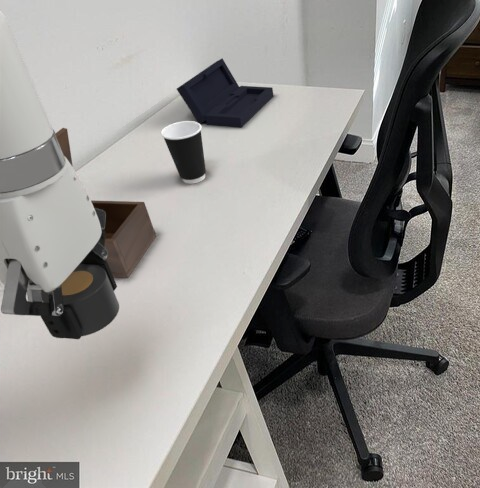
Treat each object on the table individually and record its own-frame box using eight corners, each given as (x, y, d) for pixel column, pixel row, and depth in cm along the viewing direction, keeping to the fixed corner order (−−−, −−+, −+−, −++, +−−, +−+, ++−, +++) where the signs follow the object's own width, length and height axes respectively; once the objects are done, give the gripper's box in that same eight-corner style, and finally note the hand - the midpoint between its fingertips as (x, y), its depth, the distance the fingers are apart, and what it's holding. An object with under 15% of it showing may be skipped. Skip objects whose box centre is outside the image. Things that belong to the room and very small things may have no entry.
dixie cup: (167, 182, 101) (151, 133, 94) (193, 165, 106) (181, 118, 99) (194, 191, 97) (181, 141, 90) (220, 173, 102) (209, 124, 95)
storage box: (241, 127, 120) (234, 88, 114) (185, 122, 124) (175, 84, 118) (273, 96, 135) (268, 59, 129) (222, 93, 140) (215, 57, 134)
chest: (156, 236, 86) (144, 201, 81) (127, 277, 77) (112, 242, 73) (91, 233, 88) (76, 199, 83) (56, 274, 79) (37, 239, 75)
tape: (72, 347, 49) (54, 314, 46) (47, 317, 52) (29, 285, 50) (130, 312, 52) (117, 280, 50) (102, 286, 56) (89, 255, 53)
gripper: (37, 121, 49) (96, 259, 59) (-109, 216, 35) (2, 373, 46) (105, 122, 48) (153, 262, 58) (-17, 220, 34) (74, 380, 45)
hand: (86, 310), depth 52 cm, fingers closed on tape, 6 cm apart
